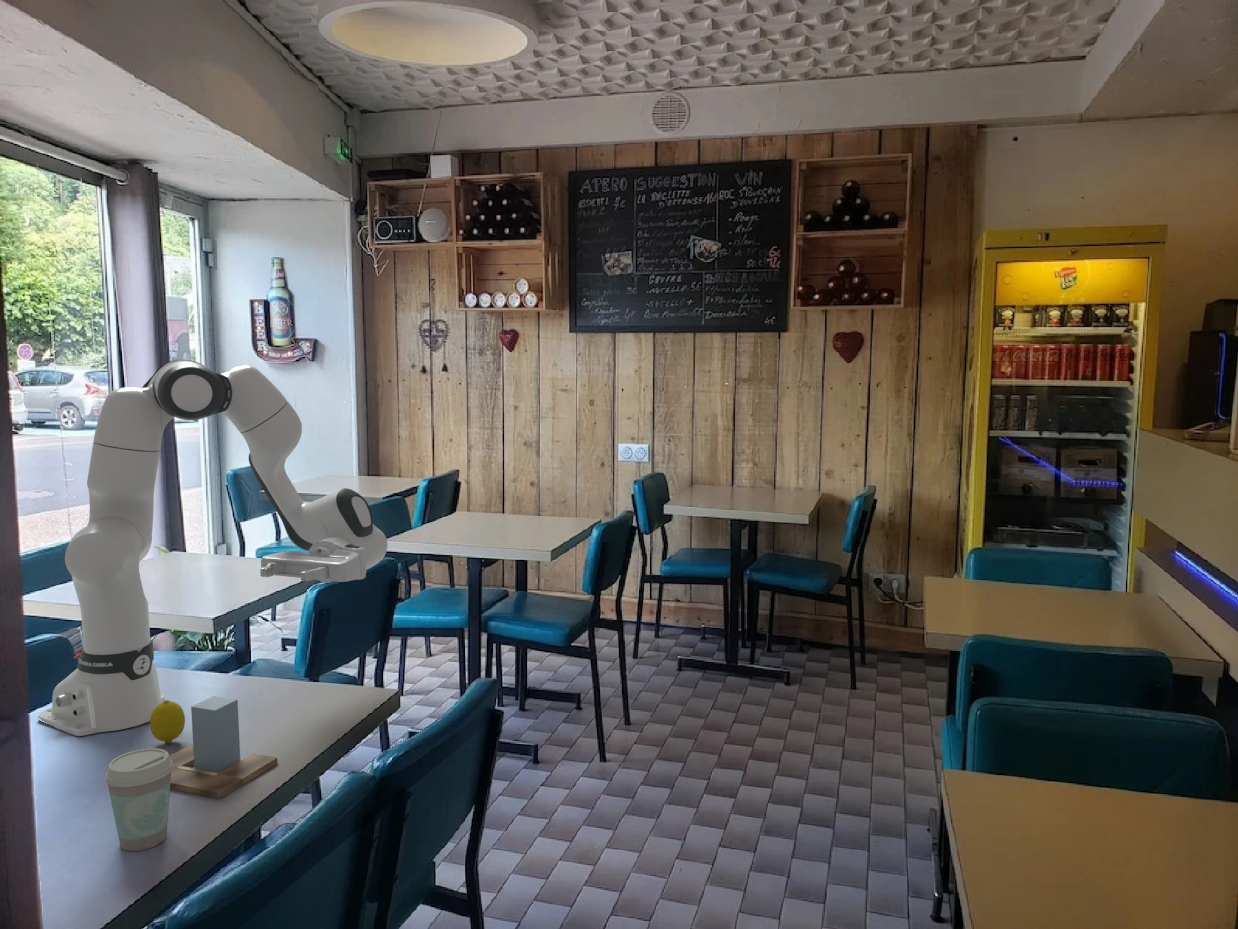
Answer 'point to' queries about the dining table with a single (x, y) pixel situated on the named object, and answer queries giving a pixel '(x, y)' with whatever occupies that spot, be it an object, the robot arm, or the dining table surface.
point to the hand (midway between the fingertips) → (283, 574)
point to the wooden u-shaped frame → (215, 774)
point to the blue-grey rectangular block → (215, 734)
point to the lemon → (167, 721)
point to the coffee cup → (140, 797)
